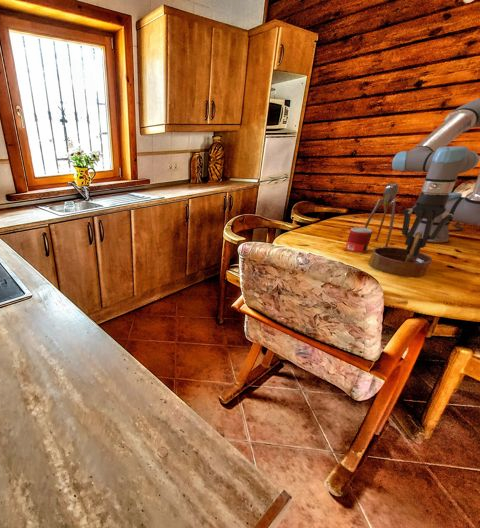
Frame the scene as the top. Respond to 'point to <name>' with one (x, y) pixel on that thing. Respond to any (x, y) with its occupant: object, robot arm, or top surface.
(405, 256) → the bowl
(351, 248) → the canned food
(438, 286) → the top surface
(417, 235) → the wooden spoon
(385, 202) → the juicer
